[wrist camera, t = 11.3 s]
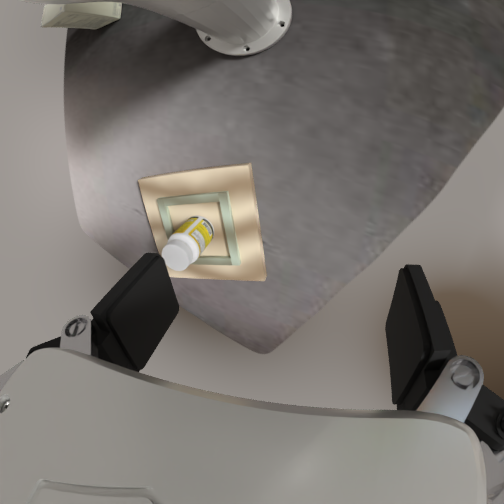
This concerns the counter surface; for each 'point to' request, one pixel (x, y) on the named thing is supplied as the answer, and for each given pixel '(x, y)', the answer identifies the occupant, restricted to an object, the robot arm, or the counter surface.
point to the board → (210, 219)
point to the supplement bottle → (188, 243)
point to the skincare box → (81, 14)
